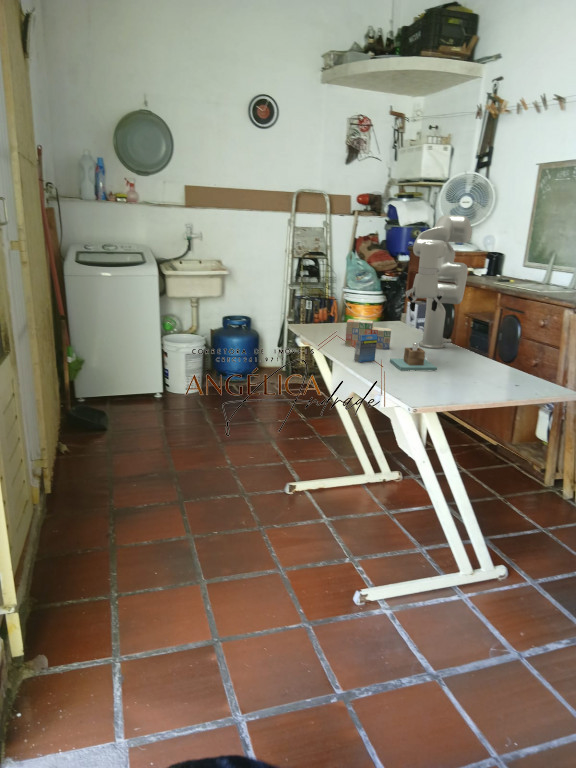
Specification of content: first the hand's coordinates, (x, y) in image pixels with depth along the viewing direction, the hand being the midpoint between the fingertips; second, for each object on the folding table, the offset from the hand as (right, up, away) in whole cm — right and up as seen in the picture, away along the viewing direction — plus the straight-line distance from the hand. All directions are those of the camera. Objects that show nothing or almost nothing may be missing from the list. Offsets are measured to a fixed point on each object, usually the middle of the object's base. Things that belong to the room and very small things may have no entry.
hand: (423, 310), depth 242 cm
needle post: (-5, -23, -3) cm, 24 cm away
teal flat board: (-5, -24, -3) cm, 25 cm away
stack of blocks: (-20, -14, +29) cm, 38 cm away
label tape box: (-25, -22, +3) cm, 34 cm away
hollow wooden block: (-5, -23, -3) cm, 24 cm away
